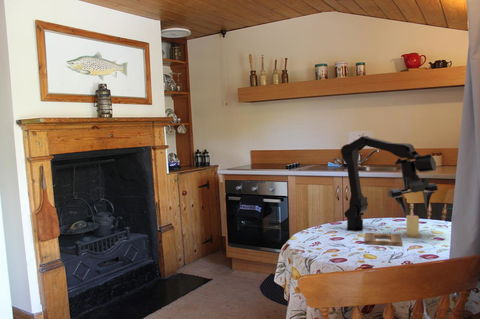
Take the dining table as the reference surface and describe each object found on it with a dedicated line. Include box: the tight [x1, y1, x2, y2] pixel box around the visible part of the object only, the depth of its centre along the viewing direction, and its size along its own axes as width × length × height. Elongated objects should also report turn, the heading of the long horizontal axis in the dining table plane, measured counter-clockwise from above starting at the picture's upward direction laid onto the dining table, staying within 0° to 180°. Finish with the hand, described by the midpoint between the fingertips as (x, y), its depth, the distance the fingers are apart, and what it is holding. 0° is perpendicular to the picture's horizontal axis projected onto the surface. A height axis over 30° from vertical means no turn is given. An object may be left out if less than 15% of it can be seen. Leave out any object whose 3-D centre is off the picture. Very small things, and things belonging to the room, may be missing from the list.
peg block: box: [405, 214, 420, 237], centre depth 171 cm, size 4×4×8 cm
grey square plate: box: [402, 232, 423, 239], centre depth 172 cm, size 7×8×1 cm
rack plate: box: [364, 232, 403, 250], centre depth 165 cm, size 14×12×3 cm
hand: (415, 210), depth 169 cm, fingers open, 9 cm apart
